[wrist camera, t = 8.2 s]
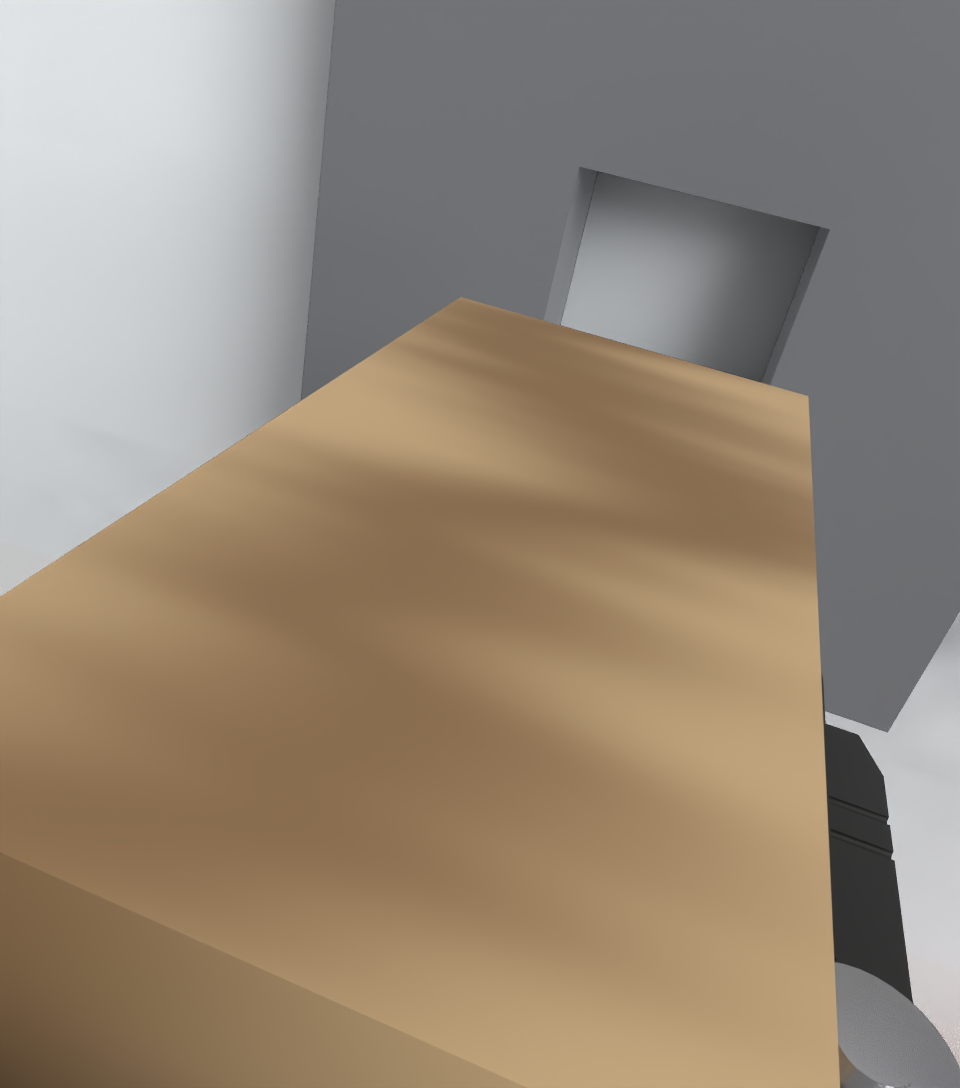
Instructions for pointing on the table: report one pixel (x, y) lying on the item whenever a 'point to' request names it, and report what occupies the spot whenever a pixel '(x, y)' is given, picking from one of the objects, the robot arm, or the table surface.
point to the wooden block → (434, 742)
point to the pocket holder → (706, 171)
